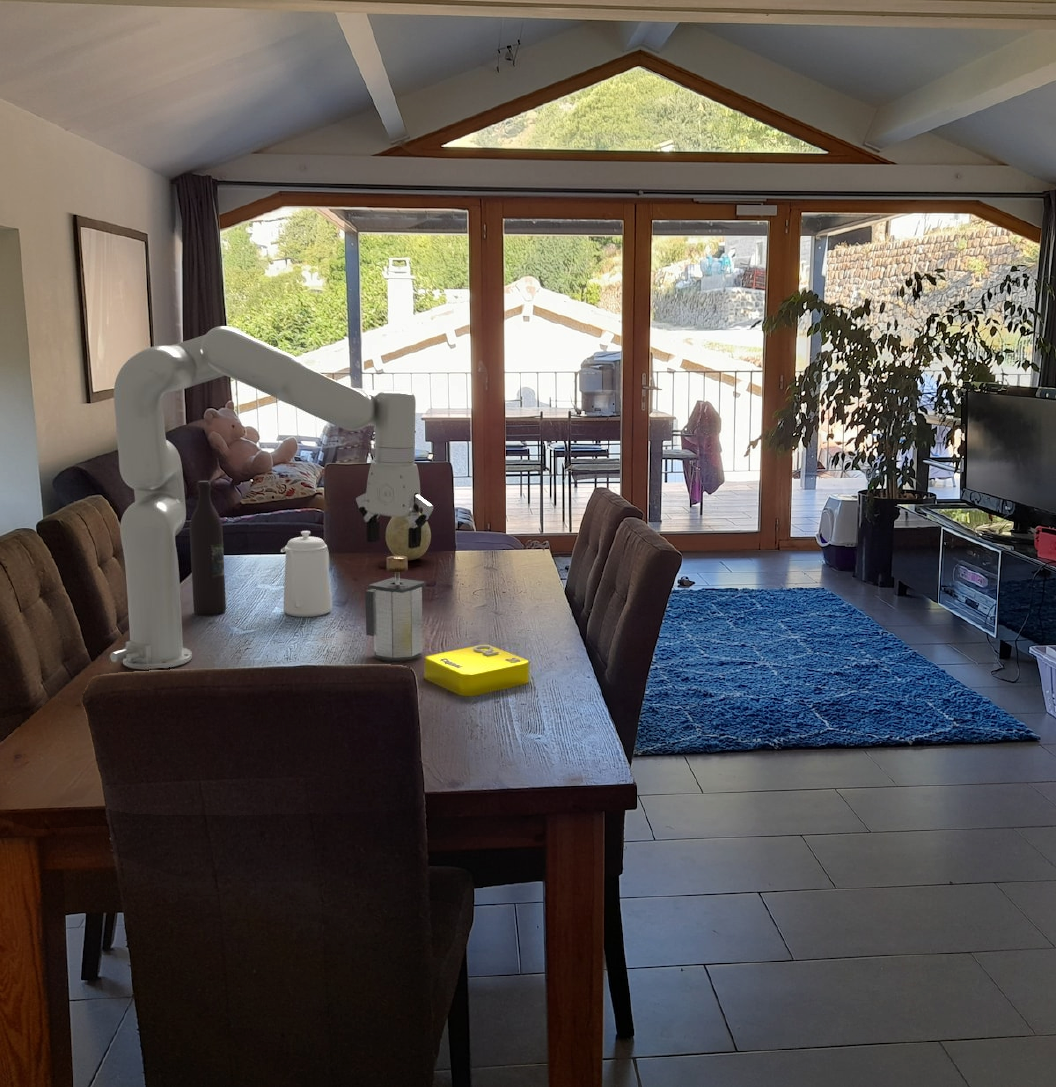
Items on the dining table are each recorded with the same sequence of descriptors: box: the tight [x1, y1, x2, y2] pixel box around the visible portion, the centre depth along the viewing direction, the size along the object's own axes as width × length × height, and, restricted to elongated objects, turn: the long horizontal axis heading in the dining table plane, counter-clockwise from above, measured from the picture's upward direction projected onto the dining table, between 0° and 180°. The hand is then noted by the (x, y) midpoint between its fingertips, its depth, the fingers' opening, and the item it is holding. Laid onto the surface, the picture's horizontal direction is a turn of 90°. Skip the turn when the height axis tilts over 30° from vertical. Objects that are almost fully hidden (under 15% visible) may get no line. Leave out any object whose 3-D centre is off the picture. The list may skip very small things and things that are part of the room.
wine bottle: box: [189, 480, 227, 617], centre depth 243 cm, size 7×7×30 cm
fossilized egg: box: [385, 511, 432, 561], centre depth 306 cm, size 13×13×15 cm
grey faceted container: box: [364, 577, 427, 663], centre depth 212 cm, size 9×12×15 cm
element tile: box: [423, 644, 530, 697], centre depth 198 cm, size 15×15×5 cm
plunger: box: [386, 555, 409, 585], centre depth 211 cm, size 7×7×14 cm
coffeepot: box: [280, 530, 333, 618], centre depth 245 cm, size 11×25×19 cm, turn 168°
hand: (393, 544), depth 209 cm, fingers open, 9 cm apart
